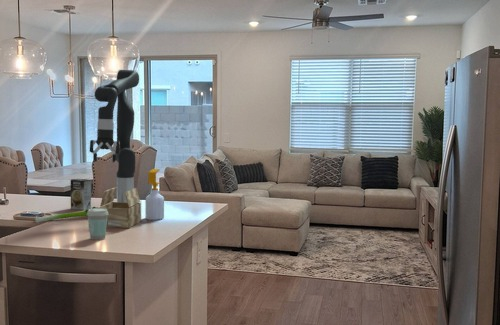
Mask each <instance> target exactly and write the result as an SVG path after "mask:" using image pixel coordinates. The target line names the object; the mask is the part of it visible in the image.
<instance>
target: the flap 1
mask: <svg viewBox="0 0 500 325" xmlns="http://www.w3.org/2000/svg"><path fill="white" fill-rule="evenodd" d="M116 194H117V186H116V187H113V188H109V189H106V190H104V191H103V195H102V197H101V200H100V201H101V202H100V207H102V206H104V205H107V204H109V203H111V202H115V201H114V200H115V196H116Z"/></svg>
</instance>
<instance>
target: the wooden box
mask: <svg viewBox="0 0 500 325" xmlns="http://www.w3.org/2000/svg"><path fill="white" fill-rule="evenodd" d="M99 208H104V209H107V211H108V216H107V226H106V228H109V229H112V228H114V229H131V228H132V227H134V226H136V225H137V224H140V222H141V221H142V215H141V214H142V211H141V210H142V202H139V203H137V204H135V205H133V206H131V207H128V203H127V202H117V201H113V202H110V203H108V204H106V205H103V206H100V207H99Z"/></svg>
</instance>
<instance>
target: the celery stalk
mask: <svg viewBox="0 0 500 325" xmlns="http://www.w3.org/2000/svg"><path fill="white" fill-rule="evenodd" d="M94 208H99V207H98V206H97V207H96V206H91V209H94ZM88 210H89V209H86V210H81V211H77V212H75V211H74V212H68V213H61V214H60V213H59V214H53V215H52V214H51V215H48V216H46V215H45V216H40V217H35V218H34V221H35V223H44V222H48V221H53V220H54V221H55V220H61V219H68V218H75V217H76V218H77V217H86V218H88V215H87V212H88Z"/></svg>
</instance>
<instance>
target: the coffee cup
mask: <svg viewBox="0 0 500 325" xmlns="http://www.w3.org/2000/svg"><path fill="white" fill-rule="evenodd" d="M87 215H88V217H87V222H88V229H89V237H90V240H93V241H102V240H104V239H105V240H106V236H107V235H106V234H107V227H106V226H107V216H108V211H107V209H104V208H100V207H98V208H94V209H92V208H91V209H89V210H88V212H87Z"/></svg>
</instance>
